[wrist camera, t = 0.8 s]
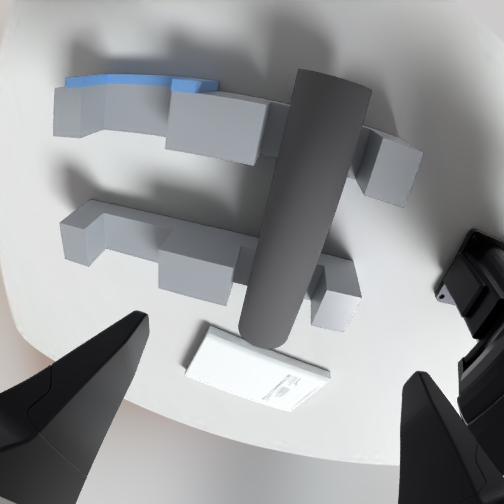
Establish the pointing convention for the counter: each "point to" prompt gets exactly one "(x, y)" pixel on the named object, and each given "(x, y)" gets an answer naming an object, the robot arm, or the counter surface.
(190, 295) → the grey blocky pieces
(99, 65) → the counter surface
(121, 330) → the robot arm
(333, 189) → the dark grey cylinder
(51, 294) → the counter surface
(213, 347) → the external hard drive
